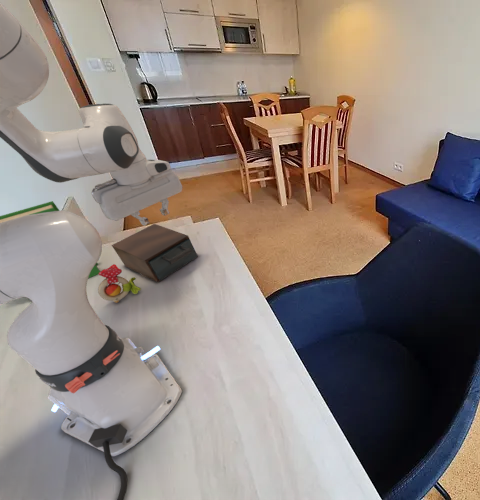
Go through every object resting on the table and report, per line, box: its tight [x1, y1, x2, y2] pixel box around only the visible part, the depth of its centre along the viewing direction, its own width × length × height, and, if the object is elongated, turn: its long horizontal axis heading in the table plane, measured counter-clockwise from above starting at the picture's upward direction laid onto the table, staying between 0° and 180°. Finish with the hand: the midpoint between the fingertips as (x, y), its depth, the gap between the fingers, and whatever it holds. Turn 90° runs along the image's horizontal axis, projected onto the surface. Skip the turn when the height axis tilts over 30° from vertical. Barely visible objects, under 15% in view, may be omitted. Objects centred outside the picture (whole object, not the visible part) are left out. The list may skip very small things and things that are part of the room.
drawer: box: [148, 238, 198, 281], centre depth 98 cm, size 23×13×7 cm, turn 59°
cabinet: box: [111, 223, 198, 283], centre depth 100 cm, size 20×15×9 cm
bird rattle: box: [97, 263, 142, 303], centre depth 86 cm, size 6×11×9 cm
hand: (156, 219), depth 86 cm, fingers open, 5 cm apart
